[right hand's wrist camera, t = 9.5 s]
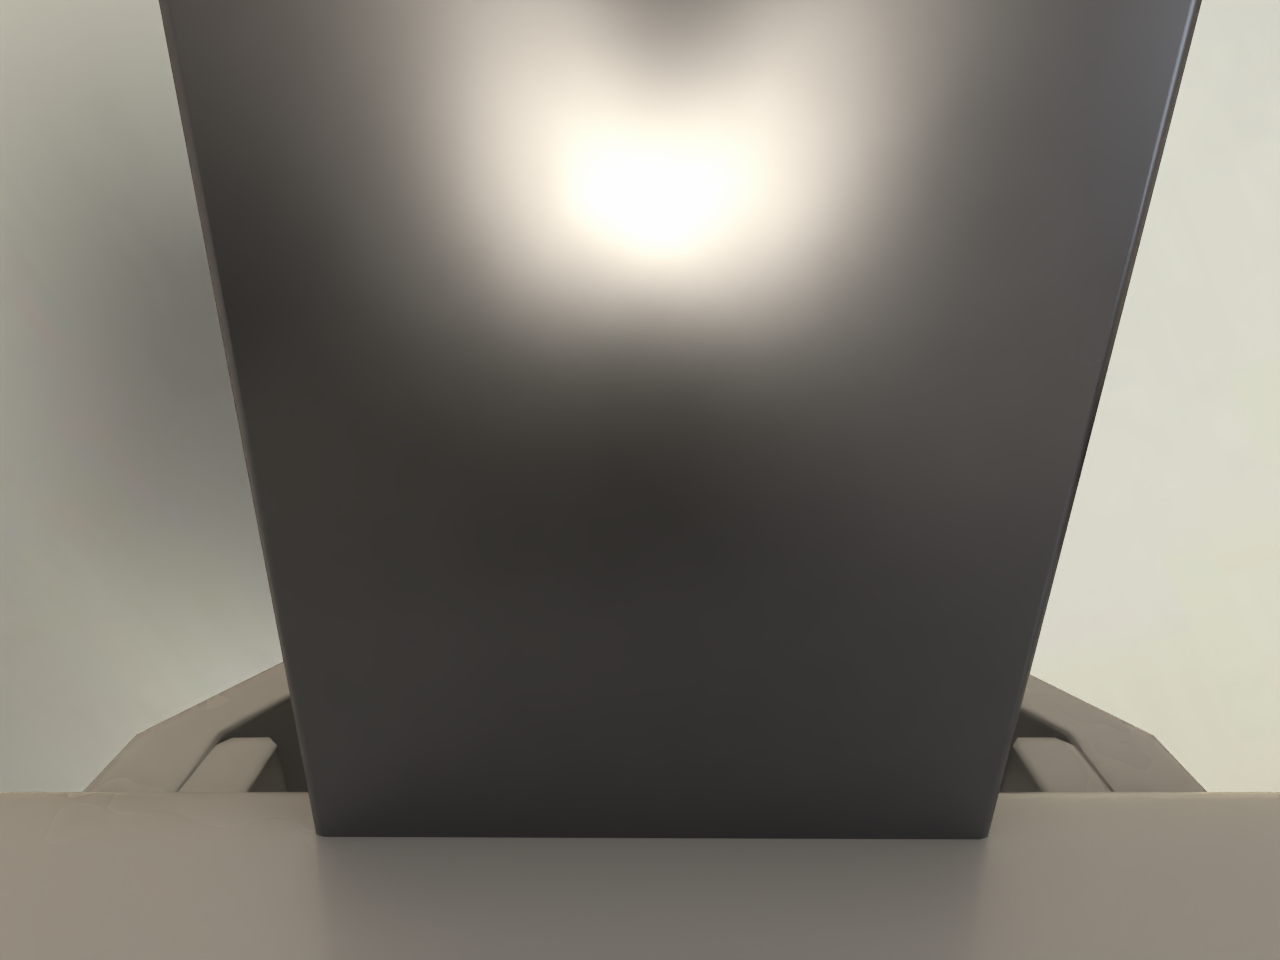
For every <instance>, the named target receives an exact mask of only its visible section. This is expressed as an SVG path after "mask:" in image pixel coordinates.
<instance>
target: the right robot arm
mask: <svg viewBox="0 0 1280 960" xmlns="http://www.w3.org/2000/svg"><path fill="white" fill-rule="evenodd" d="M0 960H1280V792H1207V791H1206V790H1205V789H1204V788H1203V787H1202V786H1201V785H1200V784H1199V783H1198V782H1197V781H1196V780H1195V779H1194V778H1193V777H1192V776H1191V775H1190V774H1189V773H1188V771H1187V770H1186V769H1185V768H1184V767H1183V766H1182V765H1181V764H1180V763H1179V762H1178V761H1177V760H1176V759H1175V758H1174V757H1173V756H1172V755H1171V754H1170V753H1169V751H1168V750H1167V749H1166V748H1165V747H1164V746H1163V745H1162V744H1161V743H1160V742H1159V741H1158V740H1157V739H1156V738H1155V737H1154V736H1153V735H1151V734H1149V733H1147V732H1145V731H1143V730H1141V729H1139V728H1137V727H1135V726H1133V725H1131V724H1129V723H1127V722H1125V721H1123V720H1121V719H1119V718H1117V717H1115V716H1113V715H1111V714H1109V713H1107V712H1105V711H1103V710H1101V709H1099V708H1096V707H1094V706H1092V705H1090V704H1088V703H1086V702H1084V701H1082V700H1080V699H1078V698H1076V697H1074V696H1072V695H1070V694H1068V693H1066V692H1064V691H1062V690H1060V689H1058V688H1056V687H1054V686H1052V685H1050V684H1048V683H1046V682H1044V681H1042V680H1040V679H1038V678H1036V677H1034V676H1032V675H1030V674H1029V678H1028V682H1027V685H1026V689H1025V693H1024V697H1023V701H1022V705H1021V709H1020V713H1019V717H1018V721H1017V725H1016V728H1015V732H1014V736H1013V740H1012V744H1011V748H1010V752H1009V756H1008V760H1007V764H1006V767H1005V771H1004V775H1003V779H1002V783H1001V787H1000V791H999V795H998V799H997V803H996V807H995V810H994V814H993V818H992V822H991V826H990V830H989V834H988V837H986V838H983V839H731V838H480V837H323V836H320V835H317V834H316V831H315V825H314V820H313V815H312V809H311V804H310V799H309V794H308V788H307V783H306V778H305V772H304V767H303V762H302V756H301V751H300V746H299V741H298V735H297V730H296V725H295V719H294V714H293V709H292V703H291V698H290V693H289V688H288V682H287V677H286V672H285V666H284V662H282V663H280V664H278V665H276V666H274V667H272V668H270V669H268V670H266V671H264V672H262V673H260V674H258V675H256V676H254V677H252V678H250V679H248V680H246V681H244V682H242V683H240V684H238V685H236V686H234V687H232V688H230V689H228V690H226V691H224V692H222V693H219V694H217V695H215V696H213V697H211V698H209V699H207V700H205V701H203V702H201V703H199V704H197V705H195V706H193V707H191V708H189V709H187V710H185V711H183V712H181V713H179V714H177V715H175V716H173V717H171V718H169V719H167V720H165V721H163V722H161V723H159V724H157V725H155V726H153V727H151V728H149V729H147V730H145V731H143V732H141V733H139V734H137V735H136V736H135V737H134V738H133V739H132V740H131V741H130V742H129V743H128V744H127V746H126V747H125V748H124V749H123V750H122V751H121V752H120V753H119V754H118V755H117V756H116V757H115V758H114V759H113V760H112V761H111V763H110V764H109V765H108V766H107V767H106V768H105V769H104V770H103V771H102V772H101V773H100V774H99V775H98V776H97V777H96V778H95V780H94V781H93V782H92V783H91V784H90V785H89V786H88V787H87V788H86V789H85V790H84V791H83V792H0Z"/></svg>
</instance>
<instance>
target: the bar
mask: <svg viewBox="0 0 1280 960" xmlns="http://www.w3.org/2000/svg"><path fill="white" fill-rule="evenodd" d="M1201 2H1202V0H159V4H160V9H161V14H162V20H163V25H164V30H165V36H166V41H167V46H168V52H169V57H170V62H171V67H172V73H173V78H174V83H175V89H176V94H177V99H178V105H179V110H180V115H181V120H182V126H183V131H184V136H185V142H186V147H187V152H188V158H189V163H190V168H191V173H192V179H193V184H194V189H195V195H196V200H197V205H198V211H199V216H200V221H201V226H202V232H203V237H204V242H205V248H206V253H207V258H208V264H209V269H210V274H211V279H212V285H213V290H214V295H215V301H216V306H217V311H218V317H219V322H220V327H221V332H222V338H223V343H224V348H225V354H226V359H227V364H228V370H229V375H230V380H231V385H232V391H233V396H234V401H235V407H236V412H237V417H238V423H239V428H240V433H241V438H242V444H243V449H244V454H245V460H246V465H247V470H248V476H249V481H250V486H251V491H252V497H253V502H254V507H255V513H256V518H257V523H258V529H259V534H260V539H261V544H262V550H263V555H264V560H265V566H266V571H267V576H268V582H269V587H270V592H271V597H272V603H273V608H274V613H275V619H276V624H277V629H278V635H279V640H280V645H281V650H282V656H283V661H284V666H285V672H286V677H287V682H288V688H289V693H290V698H291V703H292V709H293V714H294V719H295V725H296V730H297V735H298V741H299V746H300V751H301V756H302V762H303V767H304V772H305V778H306V783H307V788H308V794H309V799H310V804H311V809H312V815H313V820H314V825H315V831H316V834H317V835H320V836H323V837H480V838H731V839H983V838H986V837H988V834H989V830H990V826H991V822H992V818H993V814H994V810H995V807H996V803H997V799H998V795H999V791H1000V787H1001V783H1002V779H1003V775H1004V771H1005V767H1006V764H1007V760H1008V756H1009V752H1010V748H1011V744H1012V740H1013V736H1014V732H1015V728H1016V725H1017V721H1018V717H1019V713H1020V709H1021V705H1022V701H1023V697H1024V693H1025V689H1026V685H1027V682H1028V678H1029V674H1030V670H1031V666H1032V662H1033V658H1034V654H1035V650H1036V646H1037V642H1038V639H1039V635H1040V631H1041V627H1042V623H1043V619H1044V615H1045V611H1046V607H1047V603H1048V599H1049V596H1050V592H1051V588H1052V584H1053V580H1054V576H1055V572H1056V568H1057V564H1058V560H1059V556H1060V553H1061V549H1062V545H1063V541H1064V537H1065V533H1066V529H1067V525H1068V521H1069V517H1070V513H1071V510H1072V506H1073V502H1074V498H1075V494H1076V490H1077V486H1078V482H1079V478H1080V474H1081V470H1082V467H1083V463H1084V459H1085V455H1086V451H1087V447H1088V443H1089V439H1090V435H1091V431H1092V428H1093V424H1094V420H1095V416H1096V412H1097V408H1098V404H1099V400H1100V396H1101V392H1102V388H1103V385H1104V381H1105V377H1106V373H1107V369H1108V365H1109V361H1110V357H1111V353H1112V349H1113V345H1114V342H1115V338H1116V334H1117V330H1118V326H1119V322H1120V318H1121V314H1122V310H1123V306H1124V302H1125V299H1126V295H1127V291H1128V287H1129V283H1130V279H1131V275H1132V271H1133V267H1134V263H1135V259H1136V256H1137V252H1138V248H1139V244H1140V240H1141V236H1142V232H1143V228H1144V224H1145V220H1146V216H1147V213H1148V209H1149V205H1150V201H1151V197H1152V193H1153V189H1154V185H1155V181H1156V177H1157V173H1158V170H1159V166H1160V162H1161V158H1162V154H1163V150H1164V146H1165V142H1166V138H1167V134H1168V131H1169V127H1170V123H1171V119H1172V115H1173V111H1174V107H1175V103H1176V99H1177V95H1178V91H1179V88H1180V84H1181V80H1182V76H1183V72H1184V68H1185V64H1186V60H1187V56H1188V52H1189V48H1190V45H1191V41H1192V37H1193V33H1194V29H1195V25H1196V21H1197V17H1198V13H1199V9H1200V5H1201Z"/></svg>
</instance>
